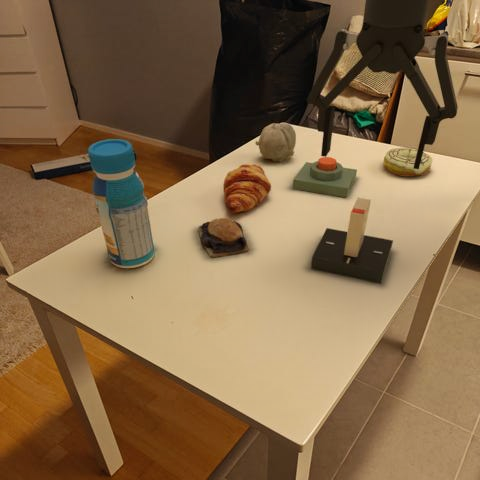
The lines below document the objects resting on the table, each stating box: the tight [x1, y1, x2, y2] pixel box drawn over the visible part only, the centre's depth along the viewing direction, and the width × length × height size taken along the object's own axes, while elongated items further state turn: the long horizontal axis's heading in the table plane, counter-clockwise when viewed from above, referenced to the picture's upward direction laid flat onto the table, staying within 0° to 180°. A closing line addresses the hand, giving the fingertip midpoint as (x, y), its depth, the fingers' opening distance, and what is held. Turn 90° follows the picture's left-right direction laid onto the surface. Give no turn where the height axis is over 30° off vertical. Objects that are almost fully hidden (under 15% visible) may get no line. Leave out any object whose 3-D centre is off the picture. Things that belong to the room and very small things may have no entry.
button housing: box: [292, 160, 358, 198], centre depth 103 cm, size 12×10×4 cm
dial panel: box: [310, 227, 394, 284], centre depth 80 cm, size 12×10×3 cm
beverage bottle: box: [87, 138, 156, 269], centre depth 76 cm, size 8×8×20 cm
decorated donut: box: [383, 147, 433, 177], centre depth 108 cm, size 10×11×4 cm
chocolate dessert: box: [198, 217, 250, 258], centre depth 86 cm, size 11×8×4 cm
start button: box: [317, 156, 338, 171], centre depth 101 cm, size 4×4×2 cm
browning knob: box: [344, 197, 372, 257], centre depth 77 cm, size 6×2×8 cm, turn 158°
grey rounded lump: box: [254, 122, 297, 163], centre depth 111 cm, size 9×8×10 cm
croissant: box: [222, 163, 272, 214], centre depth 98 cm, size 21×10×8 cm, turn 166°
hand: (369, 159), depth 69 cm, fingers open, 13 cm apart
